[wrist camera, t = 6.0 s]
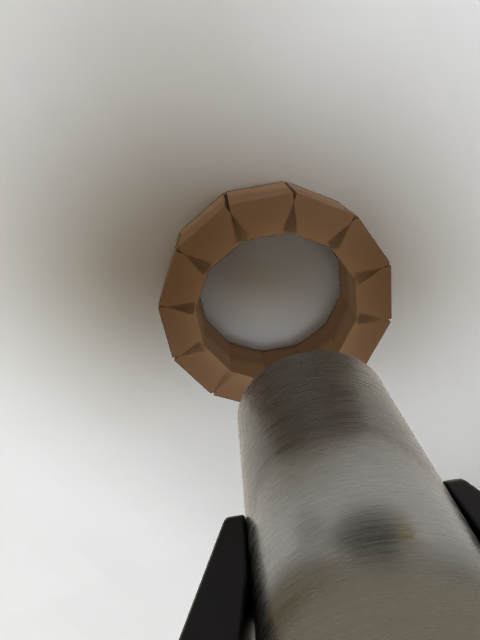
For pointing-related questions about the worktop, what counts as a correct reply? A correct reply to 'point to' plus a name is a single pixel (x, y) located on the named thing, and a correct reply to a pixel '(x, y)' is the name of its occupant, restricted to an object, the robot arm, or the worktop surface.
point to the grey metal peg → (348, 512)
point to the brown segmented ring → (257, 222)
